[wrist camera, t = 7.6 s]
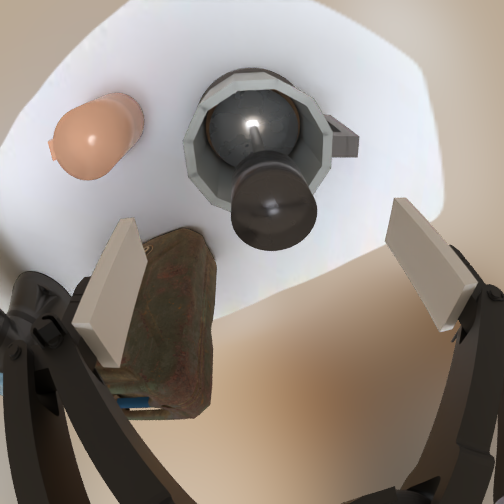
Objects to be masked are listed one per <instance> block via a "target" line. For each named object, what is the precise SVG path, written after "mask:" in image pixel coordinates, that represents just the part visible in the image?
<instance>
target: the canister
mask: <svg viewBox="0 0 504 504" xmlns="http://www.w3.org/2000/svg"><path fill="white" fill-rule="evenodd" d="M142 245H143V248H144V252H145V255H146V258H147V261H148V262H147V265H146V268H145V272H144V275H143V278H142V282H141V285H140V289H139V292H138V296H137V299H136V303H135V306H134V310H133V314H132V318H131V322H130V326H129V330H128V334H127V338H126V342H125V346H124V350H123V355H122V359H121V364H120V368H111V367H103V366H102V365H101V364H100V362H99V361H98V360H97V361H96V365H95V368H96V369H97V370H98V372H99V374H100V375H101V377H102V379H103V381H104V382H105V384H106V386H107V387H108V389H109V391H110V392H111V394H112V395H113V397H114V399H115V400H116V402H117V403H118V405H119V407H120V408H121V410H122V411H123V413H124V414H125V416H126V417H127V419H128V420H174V419H188V418H193V419H194V418H196V417H197V416H198V415H200V414H201V413H202V412H203V411H204V410H205V409H206V408H207V407H208V406H209V405H210V401H211V391H212V370H213V369H212V368H213V367H212V366H213V345H212V336H211V325H212V321H213V314H214V306H215V291H216V273H217V265H216V262H215V260H214V258H213V256H212V255H211V253H210V251H209V249H208V247H207V246H206V243H205V241H204V239H203V236H202V235H200V234H199V233H197V232H194V231H192V230H189V229H186V228H181V229H178V230H175V231H172V232H170V233H167V234H164V235H162V236H159V237H156V238H153V239H151V240H150V241H148V242H146V243H145V244H142ZM148 407H154V408H161V409H158V410H138V411H137V410H136V411H130V409H129V408H148Z"/></svg>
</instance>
